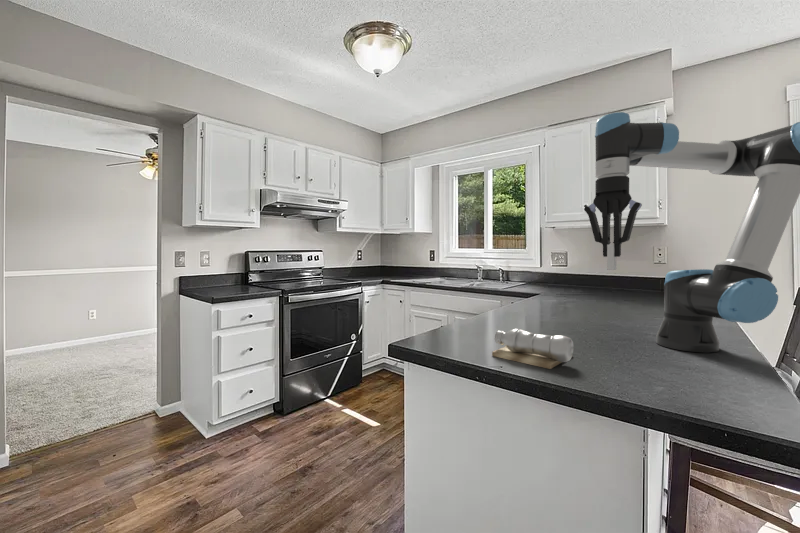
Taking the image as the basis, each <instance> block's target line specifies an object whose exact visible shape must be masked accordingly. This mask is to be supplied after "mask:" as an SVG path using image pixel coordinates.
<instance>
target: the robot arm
mask: <svg viewBox="0 0 800 533" xmlns="http://www.w3.org/2000/svg"><path fill="white" fill-rule="evenodd" d="M630 118H631V116H630V114H629V113H628V112H623V111H622V112H621V111H620V112H612V113H611V112H610V113H608V114H604V115H602V116H601V117H599V118H598V119H597V121H596V124H595V131H594V132H595V133H594V134H595V135H594V138H595V139H594V140H595V178H597V179H596V180H595V191H594V192H595V197H594V199H593V201H592V202H593V203H591V204H590V205H588V206H585V207H584V209H583V210H584V211H585V213H586V215H587V216H588V218H589V224H590V226H591V227H590V228H591V230H592V235H593V238H594V241H595V242H596V243H600V244H602V256H603V258H604V257H605V258H606V259H607V260H606V270H607V271H616V270H617V257H621V255H622V252H621V251H622V244H623V243H625V242H628V241H630V238H631V235H632V232H633V228H634V224H635V220H636V217H637V214H638V213H639V212H638V211H639V210H640V209H641V207H642V206H643V203H641V202H638V201H636V200H634V199H632V198H633V197H632V196H631V194H630V177H629V175H630V166H631V167H633V166H635V167H648V168H666V169H667V168H668V169H679V170H681V169H682V170H700V171H708V172H709V173H711V174H712V175H722V176H723V175H724V176H735V177H737V176H738V177H757V179H758V181H757V184H756V186H755V189H754V191H753V192H752V196H751V198H750V200H749V203H748V205H747V207H746V208H745V209H746V210H745V212H744V215H743V217H742V220H741V222H740V224H739V227H738V229H737V231H736V234H735V236H734V239H733V241H732V243H731V246H730V248H729V251H728V253H727V255H726V256H725V260H723V261H721V262H719V263H716V264H715V266H714V268H713V269H708V268H707V269H705V268H703V269H702V268H701V269H700V268H699V269H680V270H679V269H677V270H671V271H668V272H667V273H666V275H665V279H664V283H663V285H664V289H663V290H664V291H663V292H664V296H663V297H664V298H663V300H664V301H663V319H662V322H661V323H660V326H659V329H658V331H657V333H656V335H655V343H656V344H658V345H660V346H661V347H665V348H669V349H672V350H673V349H674V350H678V351H683V352H693V353H704V354H705V353H717V352H719V351H720V341H719V338H718V334H717V332H716V330H715V327H714V324H713V319H714V318H716V319H721V320H726V321H728V322H731V323H742V324H754V323H757V322H759V321H762V320H765V319H766V318H767V317H769V316H770V315H771V314H772V313H773V312H774V311H775V309H776V307H777V304H778V303H779V302H778V301H779V294H777V293H778V289H777V287H776V285H775V284H774V283H773V279H774V276H773V275H772V274H771V272H769V268H770V266H771V263H772V261H773V258H774V256H775V254H776V251H777V249H778V247H779V244H780V242H781V241H782V237H783V235H784V232H785V231H786V227H787V226H788V223H789V220H790V218H791V216H792V213H793V211H794V208H795V206H796V204H797V201H798V199H799V197H800V121H798V122H795V123H794V124H792V125H788V126H785V127H781V128H777V129H774V130H770V131H767V132H763V133H760V134H757V135H754V136H750V137H746V138H741V139H737V140H728V139H727V140H721V141H719V142H717V143H713V142H711V143H710V142H696V141H695V142H694V141H680V130H679V127H678V126H677V125H676V124H674V123H671V122H661V121H660V122H638V123H637V122H631V119H630ZM627 207H628V208H629V212H628V215H627V219H626V222H625V225H624V229H623V233H622V217H623V212H624V210H625V209H627ZM596 209H598V211H599V212H600V213H601V217H602V227H601V228H602V233H601V229H600V225H599V221H598V218H597V215H596V212H597V210H596ZM612 216H613V241H612V242H611V217H612ZM611 243H612V244H611Z"/></svg>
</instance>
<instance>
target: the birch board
mask: <svg viewBox="0 0 800 533" xmlns="http://www.w3.org/2000/svg"><path fill="white" fill-rule="evenodd" d="M491 353H492V354H491V356H492V357H495V358H500V359H503V360H509V361H513V362H518V363H522V364H527V365H531V366H534V367H540V368H544V369H548V370H551V369H553V368H555V367H557V366H558V365H560V364H562V363H563V362H559V361H556V360H553V359H551V358H548V357H544V356H541V355H536V354H529V353H515V352H512V351H510V350H509V349H508V348H507V347H506V346H505V345H504V346H503V347H500V348H498V349H496V350H492V352H491Z"/></svg>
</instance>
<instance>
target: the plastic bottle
mask: <svg viewBox="0 0 800 533" xmlns="http://www.w3.org/2000/svg"><path fill="white" fill-rule="evenodd" d="M494 342H495V344H499V345H501V346H504V347H505V346H506V347H507V348H508V349H509V350H510V351H512V352H515V353H529V354H536V355H541V356H544V357H548V358H551V359H553V360H556V361H559V362H562V363H567V362H569V361H571V359H572V358H573V353H574V341H573V340H572V338H571V337H570V336H569V337H568V336H566V335H563V334H562V335H559V334H557V335H552V334H551V335H550V334H539V333H534V332H530V331H527V330H524V329H520V328H513V329H510V330H507V332H506V331H505V330H497V331H496V332H495V334H494Z"/></svg>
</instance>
